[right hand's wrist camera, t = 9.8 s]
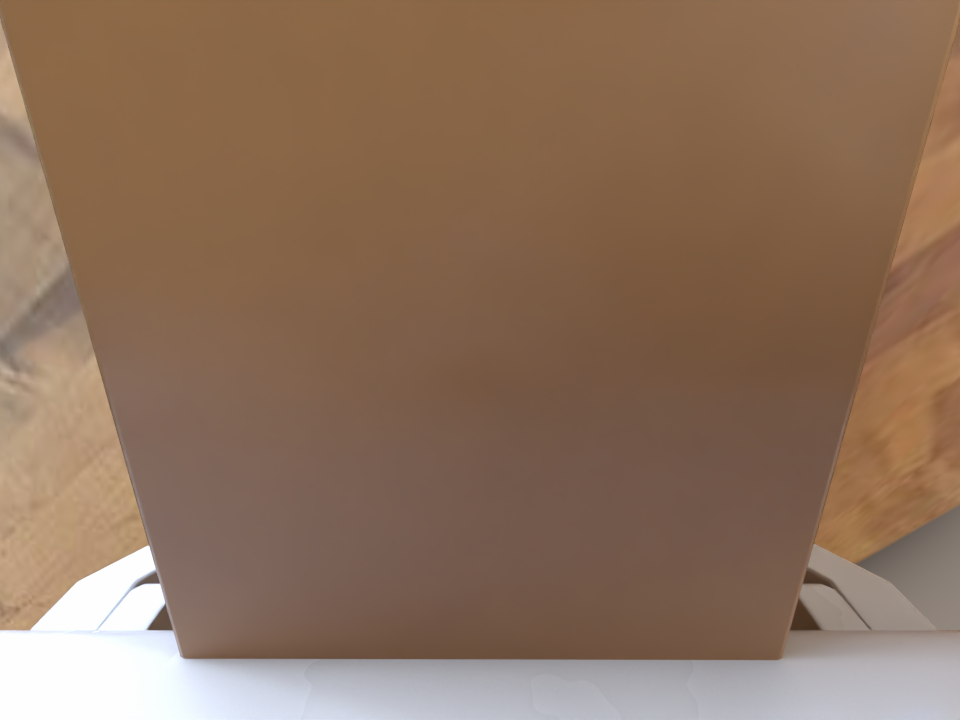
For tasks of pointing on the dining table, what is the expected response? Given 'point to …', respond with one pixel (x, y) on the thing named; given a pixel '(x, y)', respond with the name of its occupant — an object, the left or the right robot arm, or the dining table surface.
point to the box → (480, 303)
